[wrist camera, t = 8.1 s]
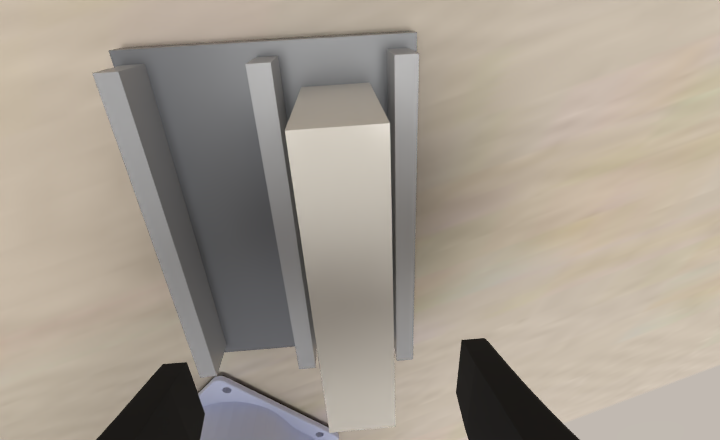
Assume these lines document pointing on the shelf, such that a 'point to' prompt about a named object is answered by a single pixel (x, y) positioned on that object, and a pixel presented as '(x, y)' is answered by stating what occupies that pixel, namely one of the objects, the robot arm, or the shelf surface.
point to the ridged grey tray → (251, 177)
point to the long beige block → (347, 247)
